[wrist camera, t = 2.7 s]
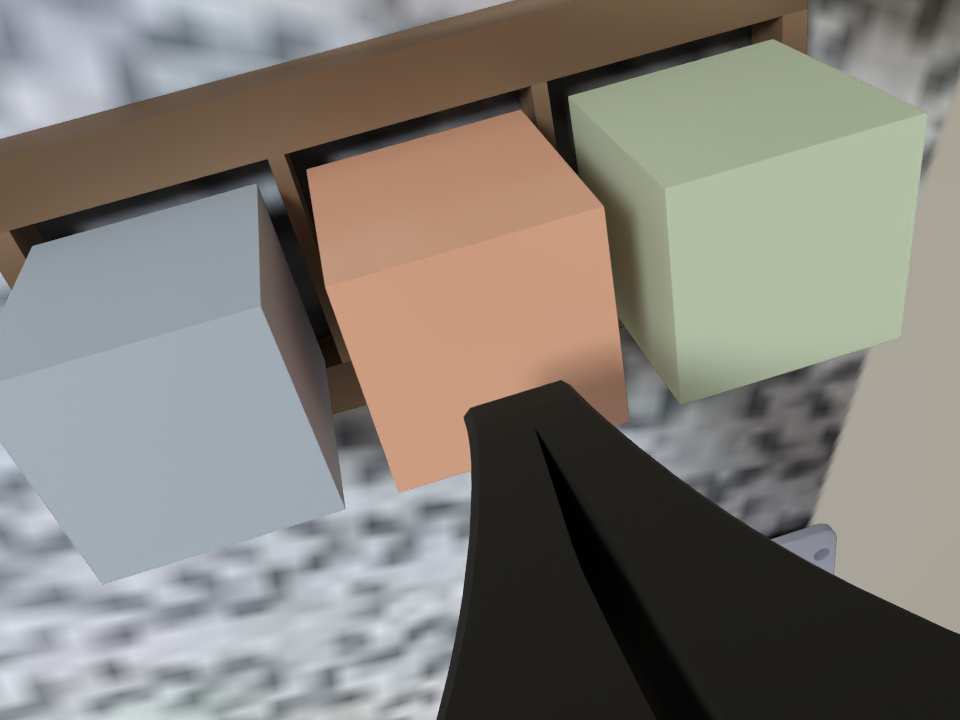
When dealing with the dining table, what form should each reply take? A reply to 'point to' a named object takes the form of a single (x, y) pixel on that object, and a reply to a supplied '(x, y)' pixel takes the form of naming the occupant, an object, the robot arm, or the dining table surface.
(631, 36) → the walnut board
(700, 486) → the dining table surface
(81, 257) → the light grey cube
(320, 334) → the dining table surface
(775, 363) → the sage button
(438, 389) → the salmon orange cube
